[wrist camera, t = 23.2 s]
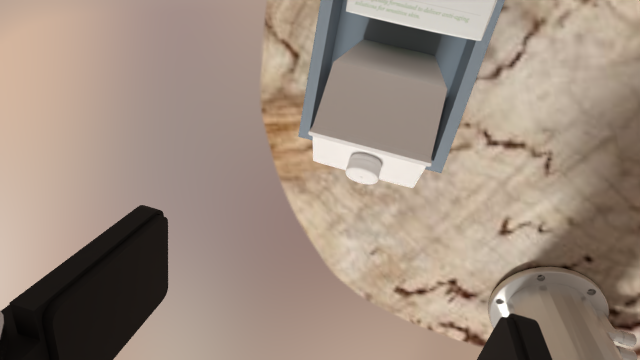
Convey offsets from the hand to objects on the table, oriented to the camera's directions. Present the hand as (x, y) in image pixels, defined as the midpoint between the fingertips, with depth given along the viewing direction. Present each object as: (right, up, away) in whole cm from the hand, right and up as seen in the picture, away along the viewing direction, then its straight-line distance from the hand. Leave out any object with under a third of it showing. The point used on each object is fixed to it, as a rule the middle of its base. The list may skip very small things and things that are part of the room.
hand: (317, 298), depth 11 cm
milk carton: (+7, +13, +28) cm, 32 cm away
